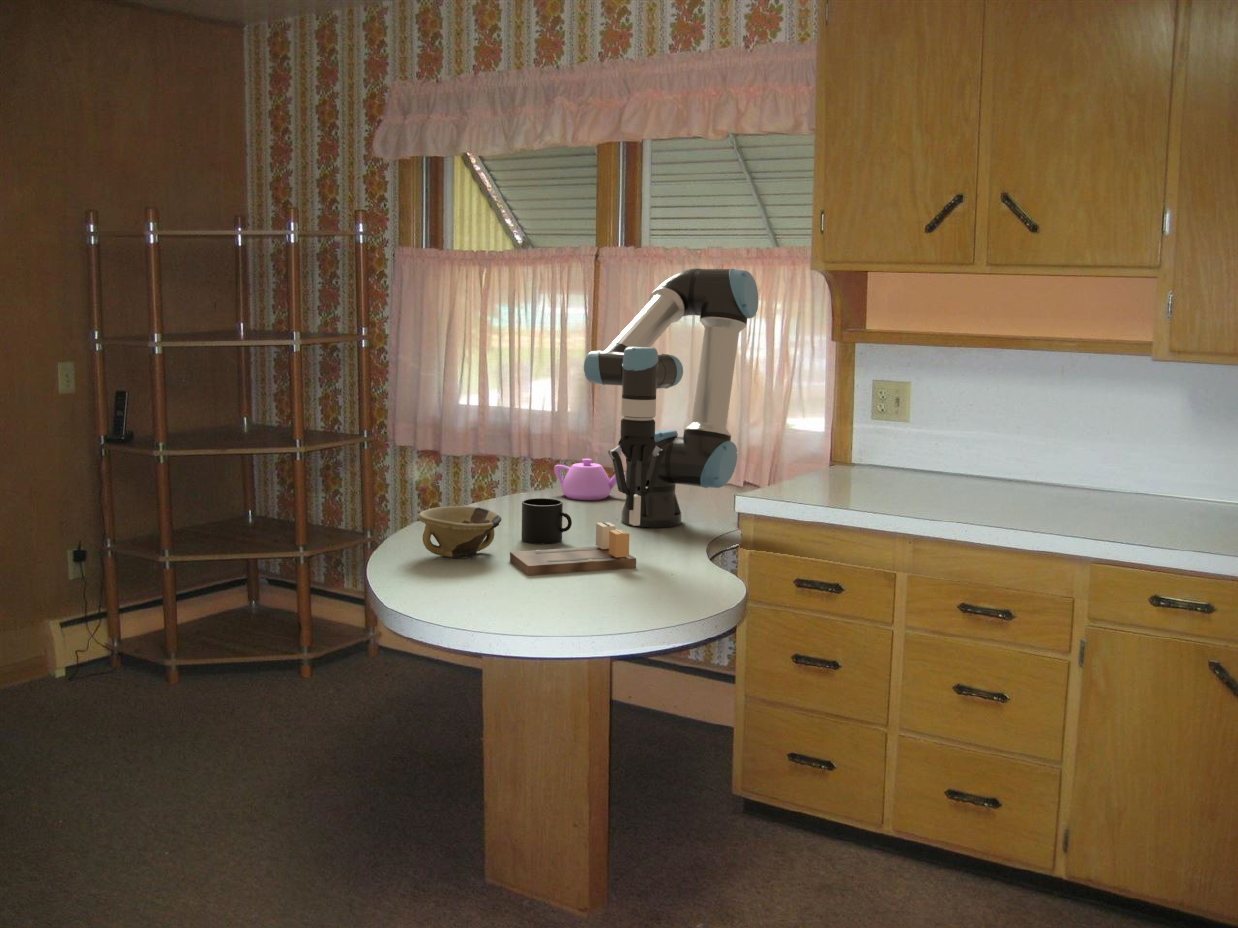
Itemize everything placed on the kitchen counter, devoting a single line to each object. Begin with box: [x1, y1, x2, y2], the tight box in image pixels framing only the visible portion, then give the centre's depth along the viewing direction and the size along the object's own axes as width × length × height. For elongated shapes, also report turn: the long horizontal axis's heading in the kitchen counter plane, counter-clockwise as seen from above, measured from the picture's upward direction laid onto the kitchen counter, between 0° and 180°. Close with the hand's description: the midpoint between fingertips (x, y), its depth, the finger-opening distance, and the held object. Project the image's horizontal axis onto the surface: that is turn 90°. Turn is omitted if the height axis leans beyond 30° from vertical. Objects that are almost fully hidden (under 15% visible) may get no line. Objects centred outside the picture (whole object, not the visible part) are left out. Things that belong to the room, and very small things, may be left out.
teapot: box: [553, 458, 626, 501], centre depth 336 cm, size 14×20×11 cm
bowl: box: [418, 505, 502, 559], centre depth 263 cm, size 18×18×10 cm
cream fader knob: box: [595, 521, 617, 549], centre depth 264 cm, size 3×4×5 cm
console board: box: [509, 545, 637, 576], centre depth 258 cm, size 24×13×2 cm, turn 112°
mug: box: [521, 497, 573, 545], centre depth 280 cm, size 9×12×9 cm
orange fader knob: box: [609, 528, 630, 557], centre depth 257 cm, size 3×4×5 cm
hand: (634, 524), depth 266 cm, fingers closed
